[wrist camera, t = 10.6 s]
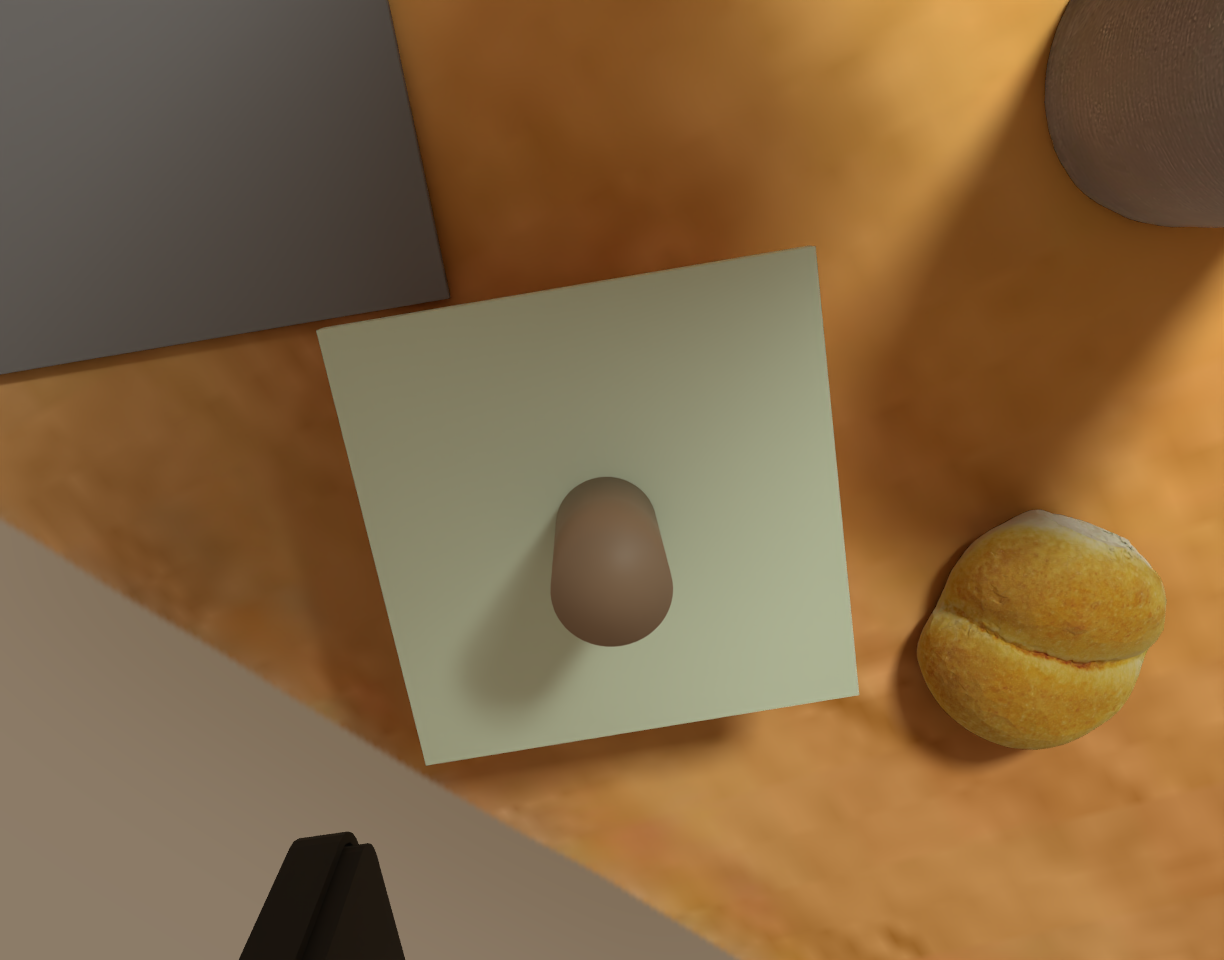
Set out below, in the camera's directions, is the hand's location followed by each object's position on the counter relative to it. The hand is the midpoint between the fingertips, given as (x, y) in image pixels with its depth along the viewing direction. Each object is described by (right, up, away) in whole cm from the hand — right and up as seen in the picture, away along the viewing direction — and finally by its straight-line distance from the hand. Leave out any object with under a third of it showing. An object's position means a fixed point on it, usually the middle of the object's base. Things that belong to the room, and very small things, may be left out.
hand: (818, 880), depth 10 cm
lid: (-2, +3, +18) cm, 19 cm away
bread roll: (+14, -1, +25) cm, 29 cm away
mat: (-17, +17, +19) cm, 30 cm away
